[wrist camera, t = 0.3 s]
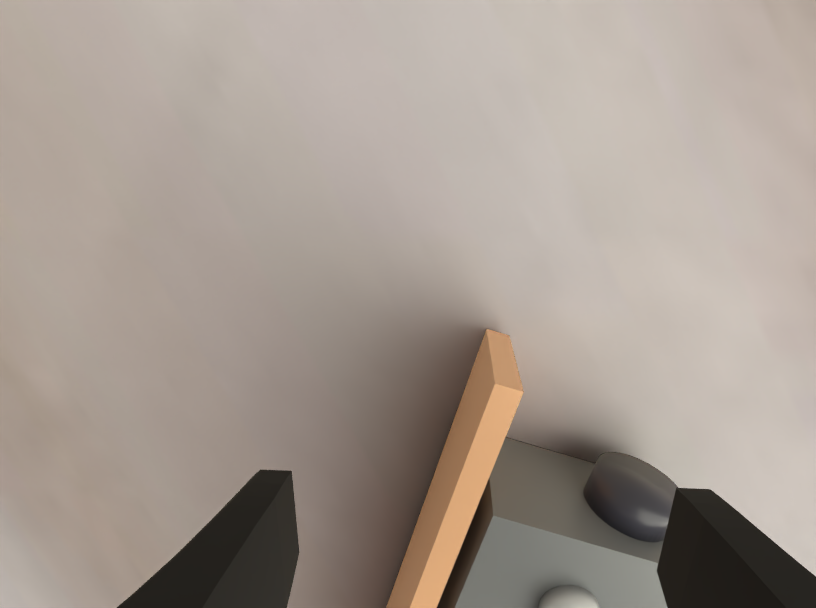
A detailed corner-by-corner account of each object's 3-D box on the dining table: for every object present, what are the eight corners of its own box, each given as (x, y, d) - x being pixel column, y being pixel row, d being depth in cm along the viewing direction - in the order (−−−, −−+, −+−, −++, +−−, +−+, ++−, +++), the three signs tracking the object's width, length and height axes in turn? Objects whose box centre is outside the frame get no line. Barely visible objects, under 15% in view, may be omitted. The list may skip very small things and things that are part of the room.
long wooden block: (385, 670, 24) (372, 773, 20) (363, 663, 24) (346, 766, 20) (512, 336, 18) (527, 393, 15) (483, 328, 18) (491, 382, 15)
